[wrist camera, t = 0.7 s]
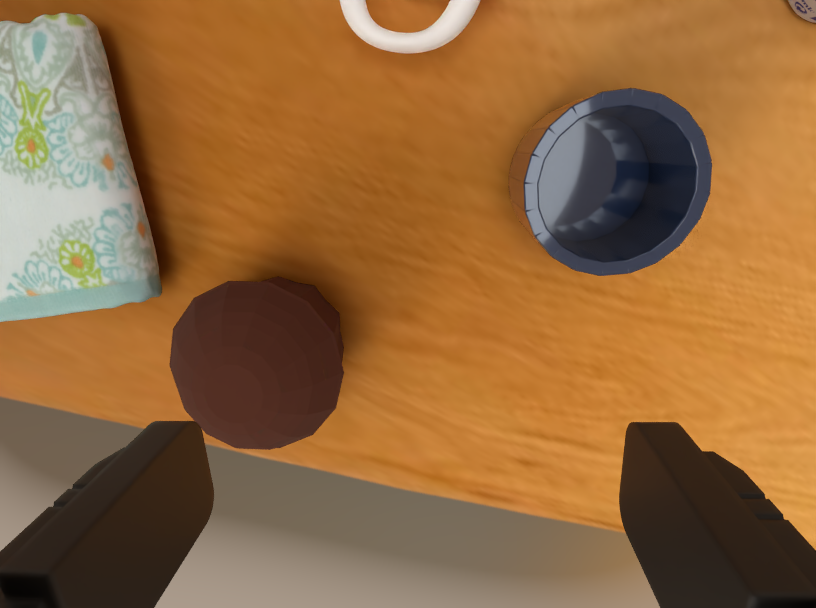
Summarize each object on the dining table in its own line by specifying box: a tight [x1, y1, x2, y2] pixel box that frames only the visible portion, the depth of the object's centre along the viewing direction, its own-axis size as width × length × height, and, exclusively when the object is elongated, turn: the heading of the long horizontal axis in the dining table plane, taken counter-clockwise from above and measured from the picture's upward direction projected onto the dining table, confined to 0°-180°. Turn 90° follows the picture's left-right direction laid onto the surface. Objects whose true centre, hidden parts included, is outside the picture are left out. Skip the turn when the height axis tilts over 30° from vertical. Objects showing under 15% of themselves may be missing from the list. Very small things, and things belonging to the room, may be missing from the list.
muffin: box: [170, 276, 344, 450], centre depth 33 cm, size 12×11×10 cm
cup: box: [509, 88, 712, 276], centre depth 29 cm, size 10×10×7 cm
